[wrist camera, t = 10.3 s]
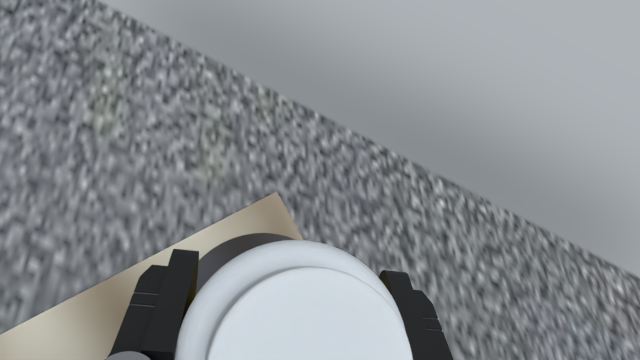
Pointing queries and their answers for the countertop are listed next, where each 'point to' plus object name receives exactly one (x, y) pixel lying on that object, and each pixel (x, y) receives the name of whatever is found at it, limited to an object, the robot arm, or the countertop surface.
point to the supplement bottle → (293, 309)
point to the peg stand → (115, 293)
